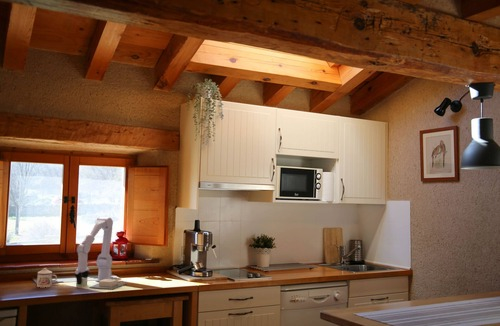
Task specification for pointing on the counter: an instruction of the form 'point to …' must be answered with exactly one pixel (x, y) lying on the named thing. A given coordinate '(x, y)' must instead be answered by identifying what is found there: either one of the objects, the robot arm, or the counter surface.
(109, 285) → the stacking base
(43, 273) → the teacup with lid
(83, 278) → the sage cube
